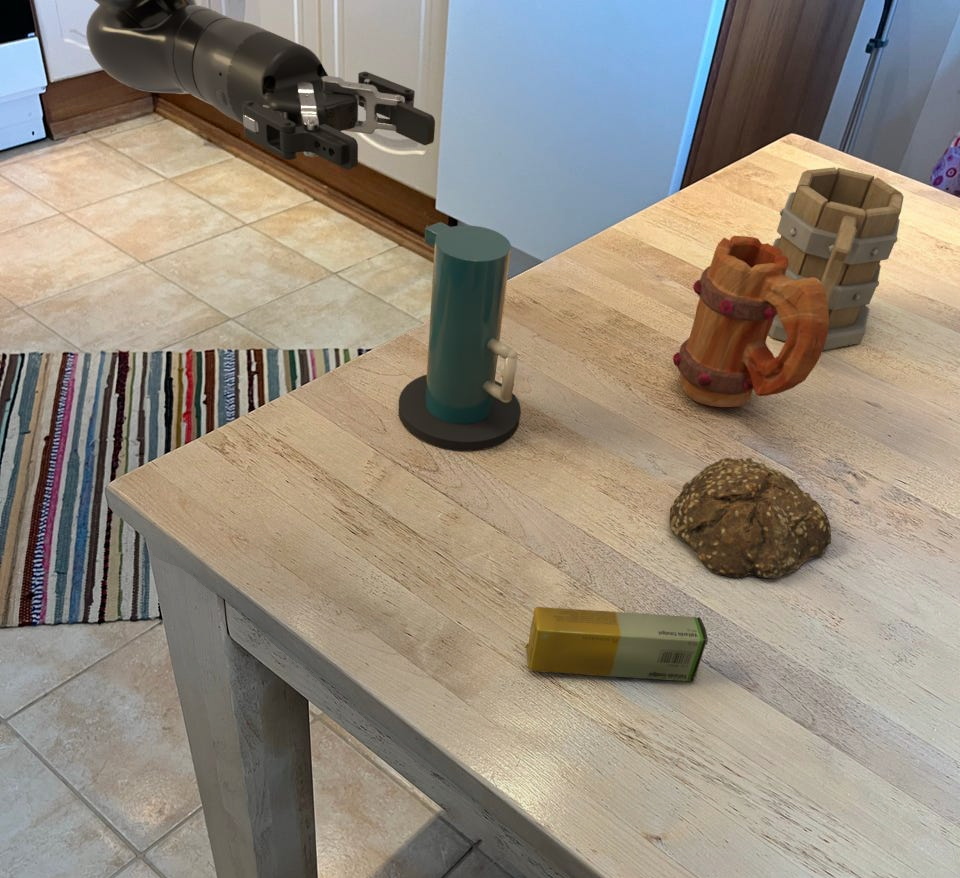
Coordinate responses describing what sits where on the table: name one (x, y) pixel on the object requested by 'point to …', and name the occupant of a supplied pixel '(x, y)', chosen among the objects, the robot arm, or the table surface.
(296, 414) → the table surface
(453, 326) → the jug
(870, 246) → the tankard
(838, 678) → the table surface
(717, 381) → the mug
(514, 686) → the table surface
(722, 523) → the bread roll
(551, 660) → the medication box
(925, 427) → the table surface
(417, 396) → the disc
